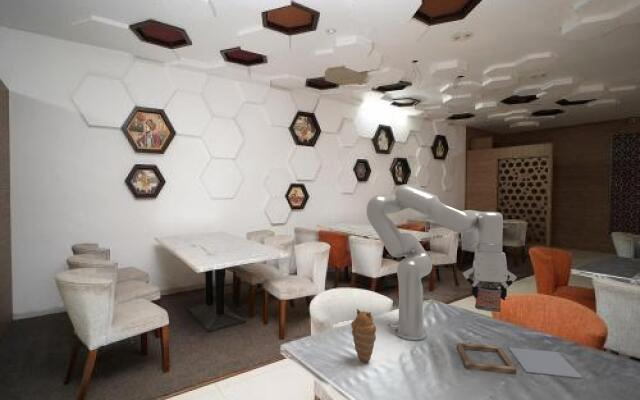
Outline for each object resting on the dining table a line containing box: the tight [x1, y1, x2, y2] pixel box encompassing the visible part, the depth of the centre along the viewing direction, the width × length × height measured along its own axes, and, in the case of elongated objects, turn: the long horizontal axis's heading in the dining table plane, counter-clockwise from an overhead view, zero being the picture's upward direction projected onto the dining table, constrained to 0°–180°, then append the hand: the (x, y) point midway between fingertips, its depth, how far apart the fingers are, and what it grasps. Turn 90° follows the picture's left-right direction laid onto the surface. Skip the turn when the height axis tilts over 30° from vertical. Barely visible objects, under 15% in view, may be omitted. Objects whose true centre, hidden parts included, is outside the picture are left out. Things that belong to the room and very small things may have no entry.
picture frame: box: [456, 342, 517, 375], centre depth 113 cm, size 15×15×2 cm
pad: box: [508, 347, 584, 380], centre depth 111 cm, size 16×16×1 cm
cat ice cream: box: [350, 308, 377, 363], centre depth 112 cm, size 9×8×18 cm
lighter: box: [474, 281, 502, 313], centre depth 112 cm, size 8×3×10 cm, turn 69°
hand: (488, 297), depth 112 cm, fingers closed on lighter, 8 cm apart
